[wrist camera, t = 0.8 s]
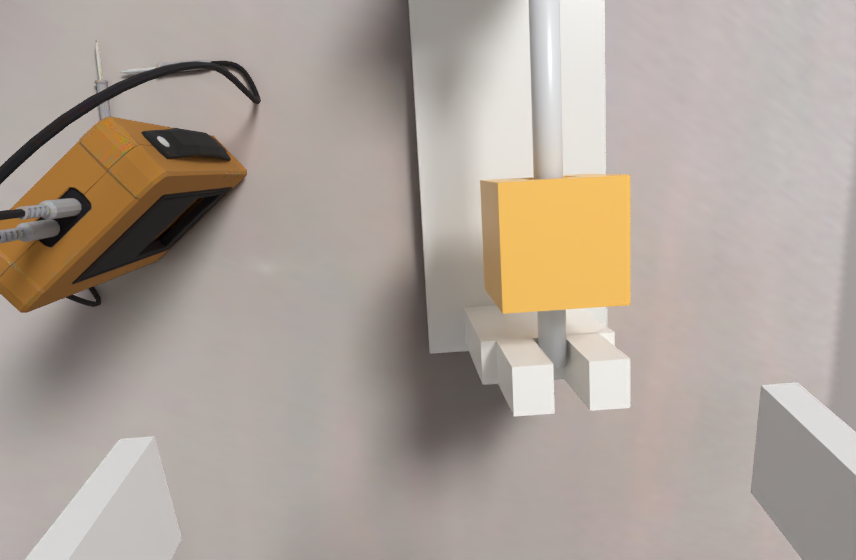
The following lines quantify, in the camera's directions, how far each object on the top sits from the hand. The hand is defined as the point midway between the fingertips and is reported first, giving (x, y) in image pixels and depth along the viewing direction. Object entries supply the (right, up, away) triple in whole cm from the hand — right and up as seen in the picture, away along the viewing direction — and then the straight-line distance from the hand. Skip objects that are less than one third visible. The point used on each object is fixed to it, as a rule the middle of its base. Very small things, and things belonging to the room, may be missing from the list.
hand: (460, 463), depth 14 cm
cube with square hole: (+4, +6, +15) cm, 17 cm away
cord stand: (+4, +12, +21) cm, 24 cm away
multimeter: (-16, +11, +20) cm, 28 cm away
